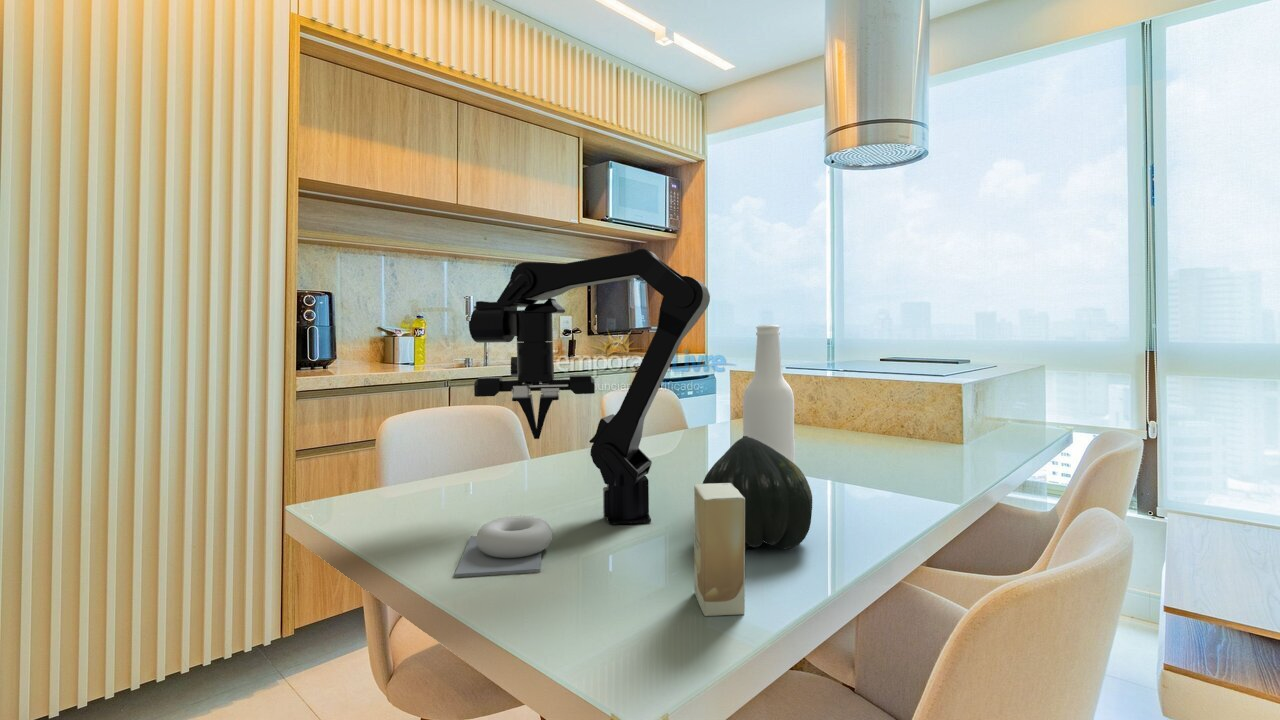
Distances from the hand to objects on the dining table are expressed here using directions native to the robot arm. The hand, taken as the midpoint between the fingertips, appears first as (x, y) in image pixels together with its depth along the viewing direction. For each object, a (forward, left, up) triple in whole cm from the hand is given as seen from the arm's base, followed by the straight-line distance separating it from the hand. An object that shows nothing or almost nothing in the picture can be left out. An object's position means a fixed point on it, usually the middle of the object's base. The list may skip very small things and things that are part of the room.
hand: (536, 438), depth 100 cm
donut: (-2, +21, -10) cm, 23 cm away
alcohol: (-40, -3, -12) cm, 42 cm away
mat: (+4, +19, -12) cm, 23 cm away
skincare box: (-20, +38, -12) cm, 45 cm away
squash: (-30, +20, -12) cm, 38 cm away
